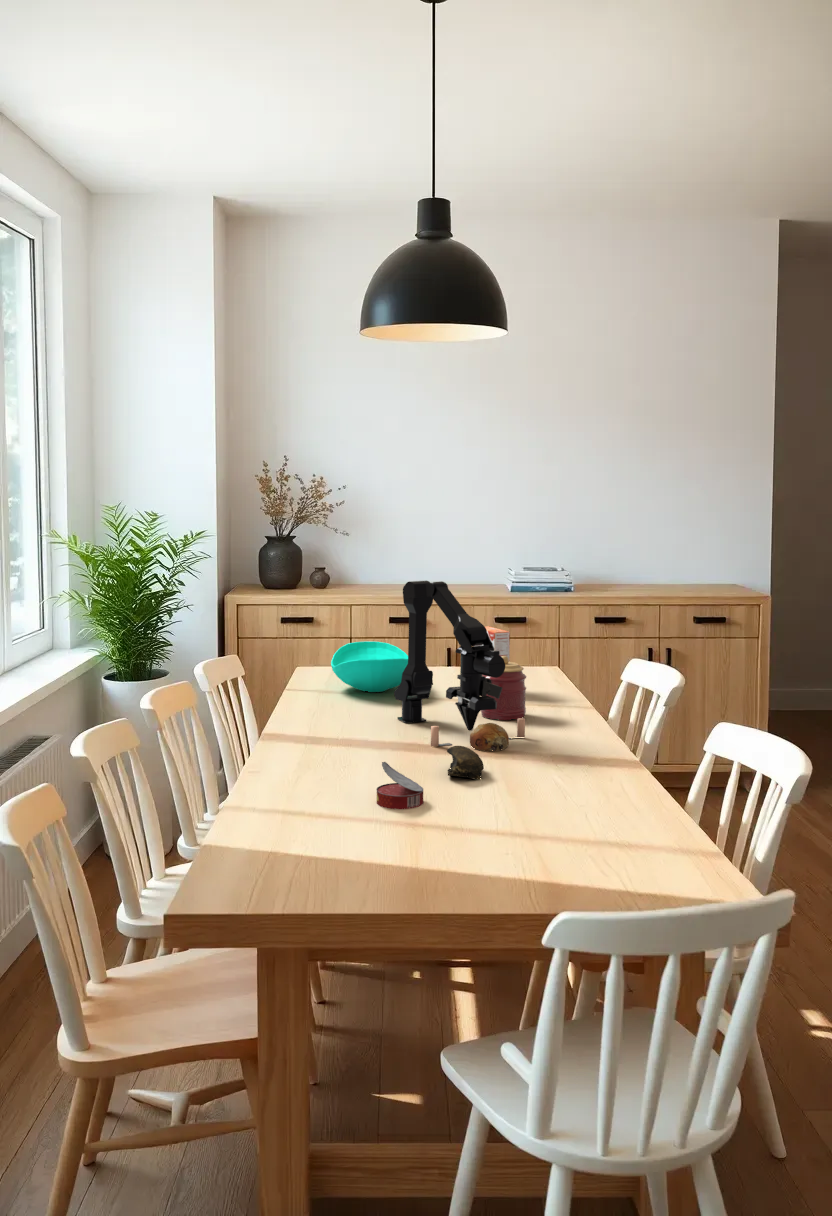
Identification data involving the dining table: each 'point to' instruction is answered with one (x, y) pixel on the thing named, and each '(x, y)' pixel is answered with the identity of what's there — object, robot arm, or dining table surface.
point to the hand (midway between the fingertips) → (470, 730)
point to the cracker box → (499, 640)
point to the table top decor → (370, 665)
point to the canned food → (399, 791)
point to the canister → (509, 693)
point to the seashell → (465, 763)
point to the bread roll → (489, 737)
